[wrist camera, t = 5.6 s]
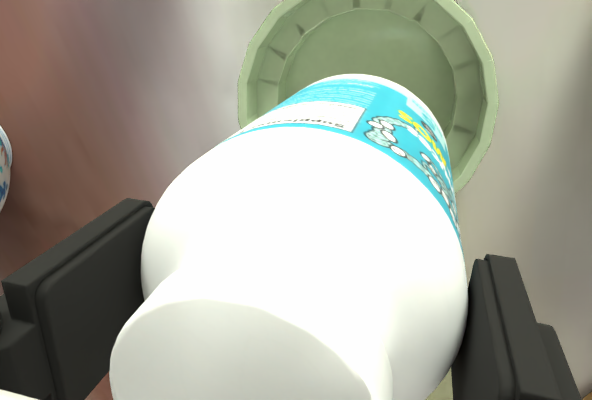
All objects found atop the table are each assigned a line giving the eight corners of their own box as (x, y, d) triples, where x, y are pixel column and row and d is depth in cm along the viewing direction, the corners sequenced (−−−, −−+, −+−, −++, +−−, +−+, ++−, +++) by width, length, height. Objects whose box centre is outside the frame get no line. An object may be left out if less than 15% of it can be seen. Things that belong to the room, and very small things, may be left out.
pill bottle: (454, 236, 19) (496, 616, 7) (288, 243, 22) (115, 544, 10) (442, 53, 17) (478, 186, 5) (255, 82, 19) (-37, 224, 7)
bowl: (262, -29, 30) (235, -35, 26) (509, -22, 27) (527, -27, 23) (260, 186, 36) (238, 211, 32) (462, 212, 33) (469, 244, 29)
